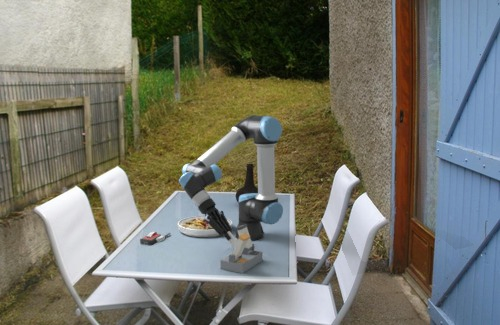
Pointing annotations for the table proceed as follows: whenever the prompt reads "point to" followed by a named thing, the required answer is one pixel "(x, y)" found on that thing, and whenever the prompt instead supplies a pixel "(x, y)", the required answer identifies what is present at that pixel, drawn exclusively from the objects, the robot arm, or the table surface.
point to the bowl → (198, 227)
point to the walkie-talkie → (152, 238)
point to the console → (242, 261)
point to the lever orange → (240, 245)
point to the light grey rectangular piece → (243, 229)
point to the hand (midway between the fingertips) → (235, 245)
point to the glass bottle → (247, 183)
